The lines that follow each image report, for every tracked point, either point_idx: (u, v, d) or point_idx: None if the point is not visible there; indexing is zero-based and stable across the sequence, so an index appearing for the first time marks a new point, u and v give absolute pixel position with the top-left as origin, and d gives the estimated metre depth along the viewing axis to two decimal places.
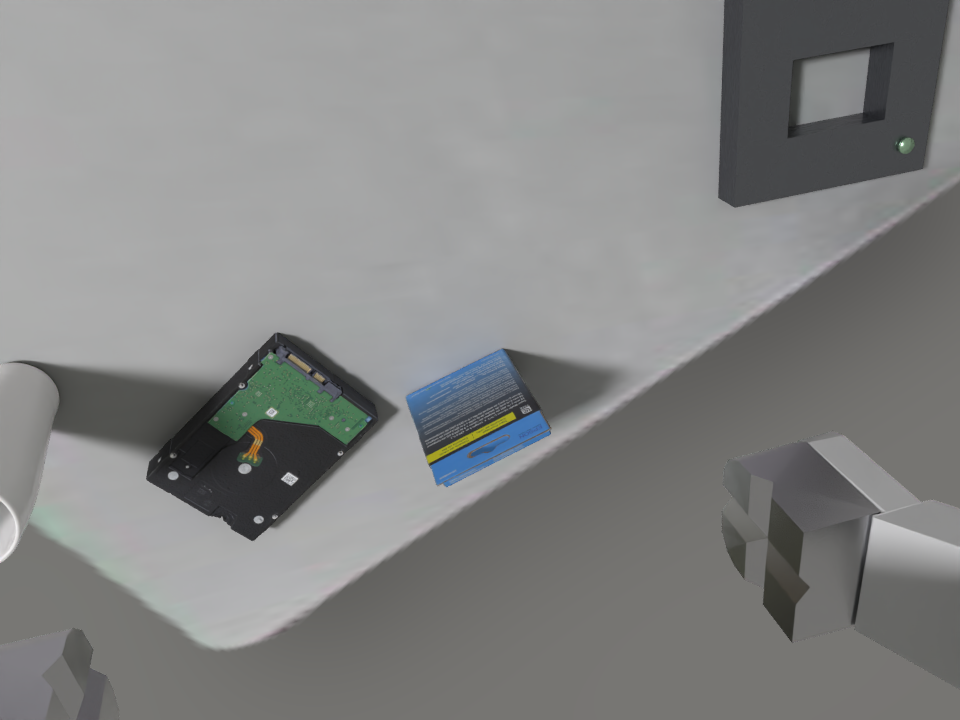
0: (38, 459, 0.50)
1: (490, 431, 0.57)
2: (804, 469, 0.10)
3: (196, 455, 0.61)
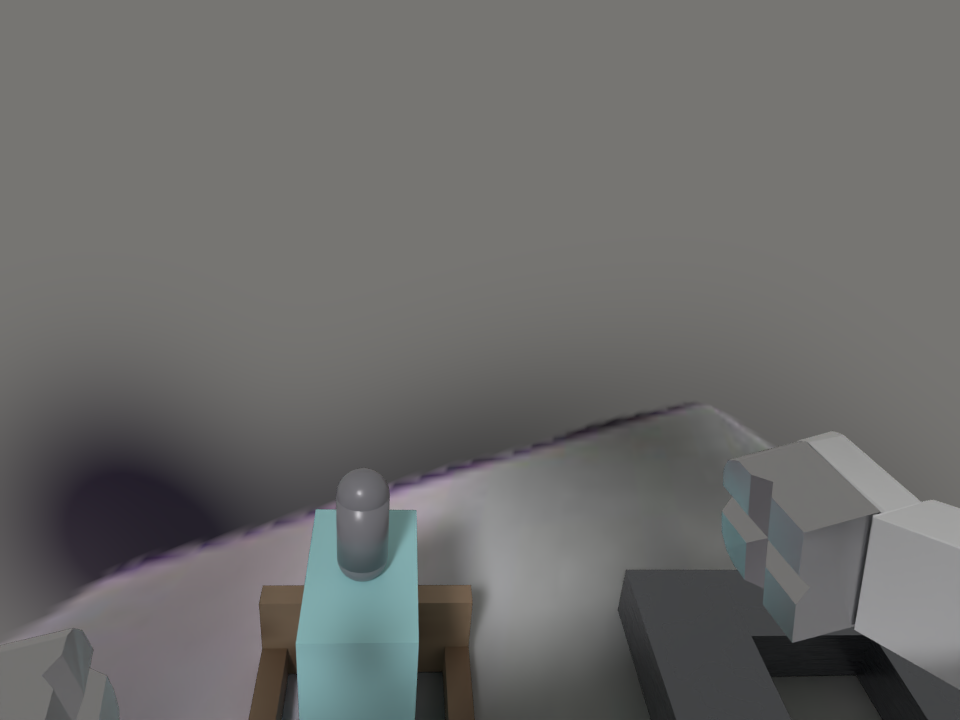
0: None
1: None
2: (804, 469, 0.10)
3: None
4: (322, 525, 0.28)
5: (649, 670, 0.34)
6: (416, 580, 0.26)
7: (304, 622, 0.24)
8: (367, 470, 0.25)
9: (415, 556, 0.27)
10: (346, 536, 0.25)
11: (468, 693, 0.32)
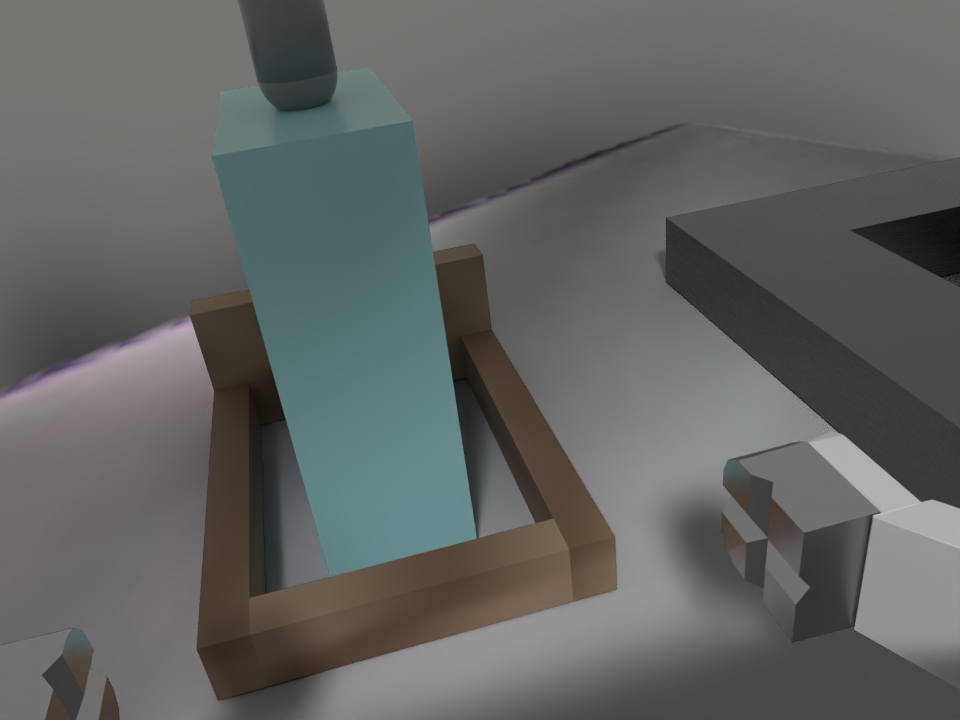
0: None
1: None
2: (804, 469, 0.10)
3: None
4: (233, 96, 0.18)
5: (733, 298, 0.26)
6: (389, 94, 0.17)
7: (222, 143, 0.15)
8: None
9: (380, 85, 0.18)
10: (258, 9, 0.15)
11: (507, 366, 0.23)
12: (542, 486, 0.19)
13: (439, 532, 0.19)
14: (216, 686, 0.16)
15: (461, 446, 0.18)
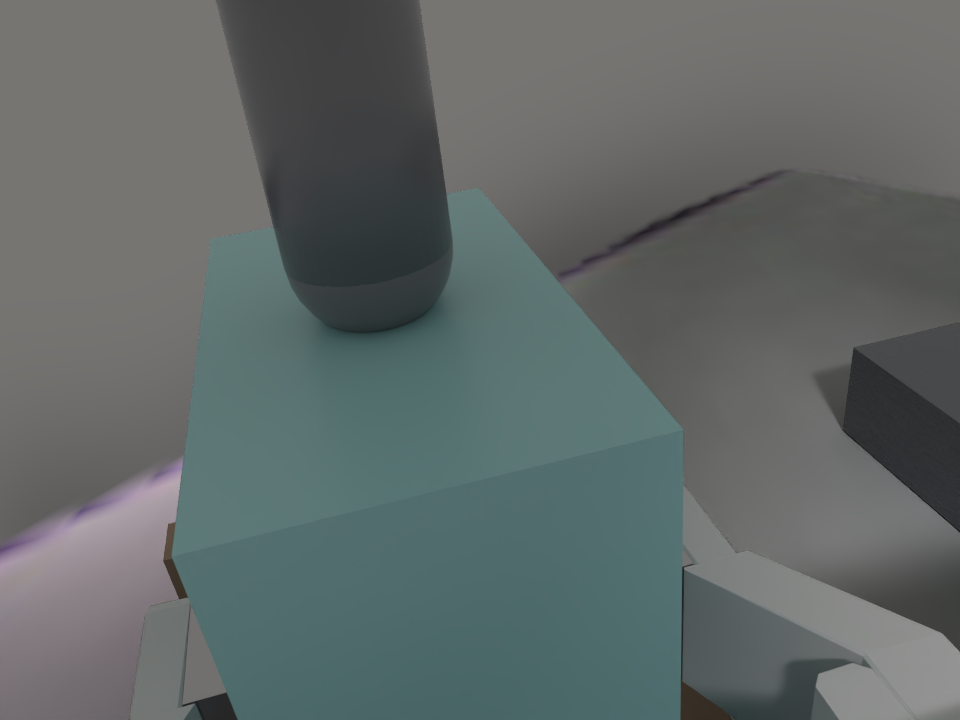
0: None
1: None
2: None
3: None
4: (232, 258, 0.10)
5: None
6: (561, 290, 0.08)
7: (203, 476, 0.06)
8: None
9: (526, 251, 0.09)
10: (291, 133, 0.06)
11: None
12: None
13: None
14: None
15: None
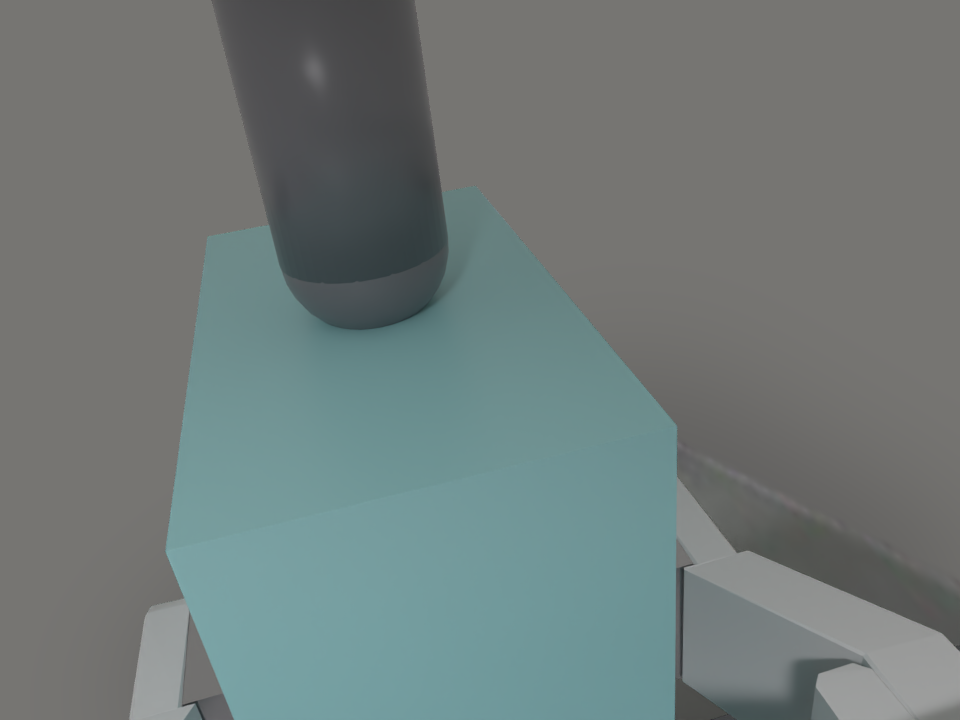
0: None
1: None
2: None
3: None
4: (228, 255, 0.10)
5: None
6: (557, 287, 0.08)
7: (198, 472, 0.06)
8: None
9: (522, 248, 0.09)
10: (286, 131, 0.06)
11: None
12: None
13: None
14: None
15: None
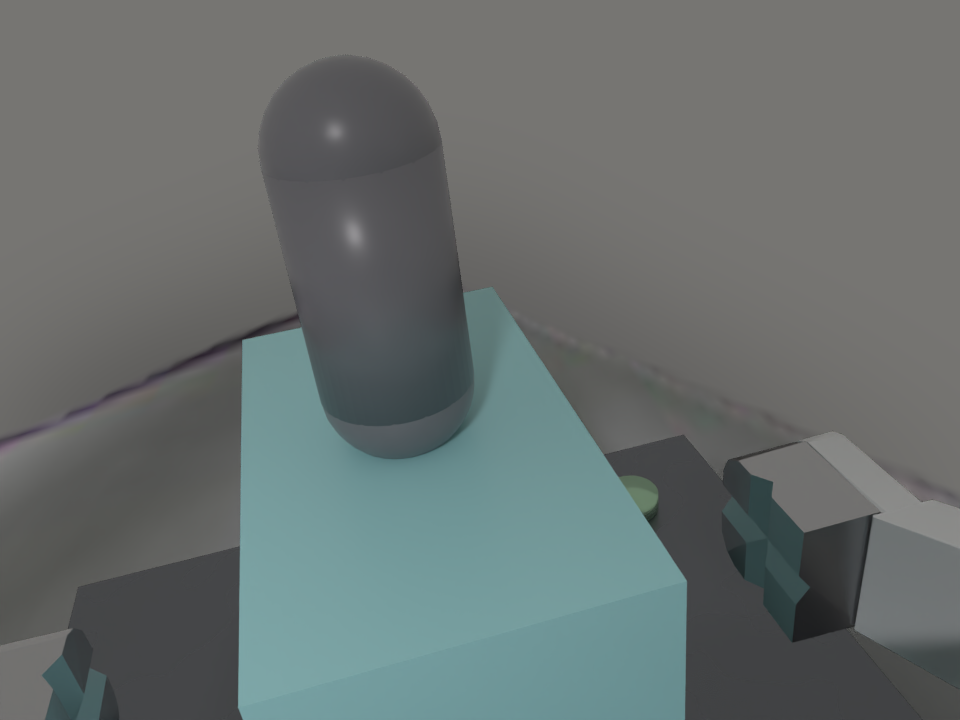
0: None
1: None
2: (804, 469, 0.10)
3: None
4: (264, 363, 0.10)
5: None
6: (573, 415, 0.09)
7: (259, 620, 0.07)
8: None
9: (539, 366, 0.10)
10: (333, 300, 0.07)
11: None
12: None
13: None
14: None
15: None
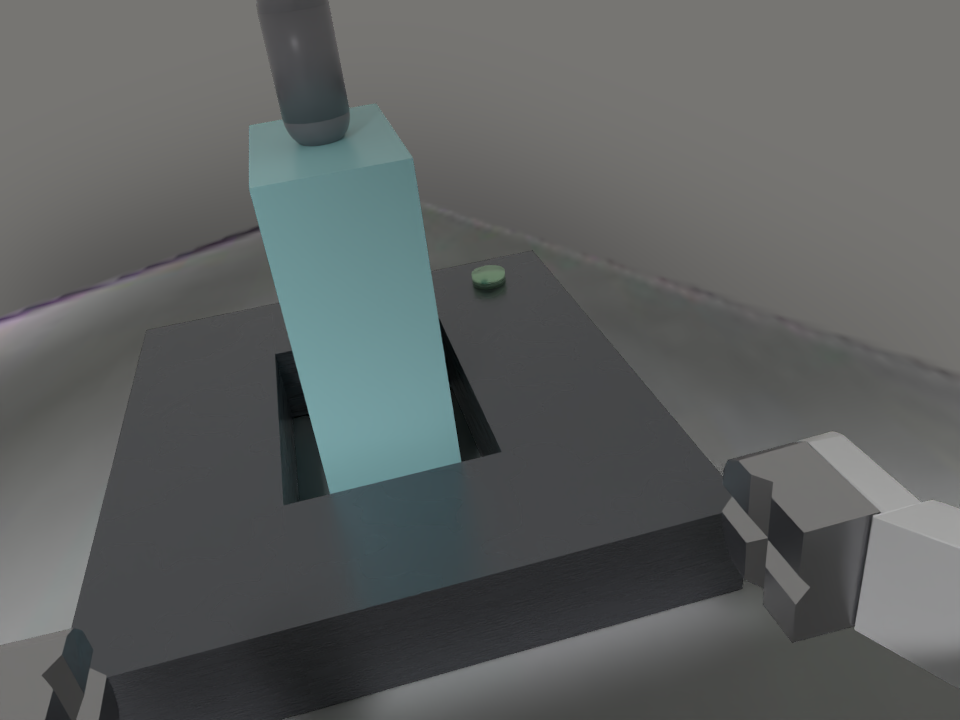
0: None
1: None
2: (804, 469, 0.10)
3: None
4: (259, 130, 0.22)
5: None
6: (393, 131, 0.20)
7: (256, 176, 0.18)
8: None
9: (386, 122, 0.21)
10: (285, 64, 0.18)
11: None
12: None
13: None
14: None
15: (455, 428, 0.21)
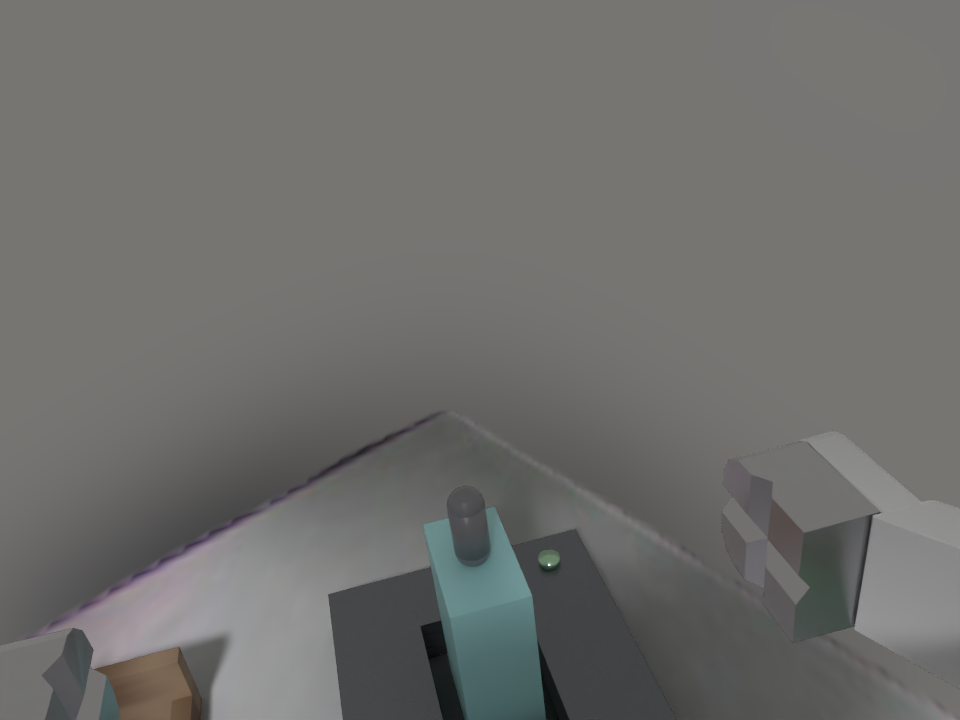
0: None
1: None
2: (804, 469, 0.10)
3: None
4: (432, 534, 0.38)
5: None
6: (514, 555, 0.36)
7: (449, 603, 0.34)
8: (465, 487, 0.34)
9: (507, 539, 0.37)
10: (462, 537, 0.34)
11: None
12: None
13: None
14: None
15: (543, 706, 0.37)
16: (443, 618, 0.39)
